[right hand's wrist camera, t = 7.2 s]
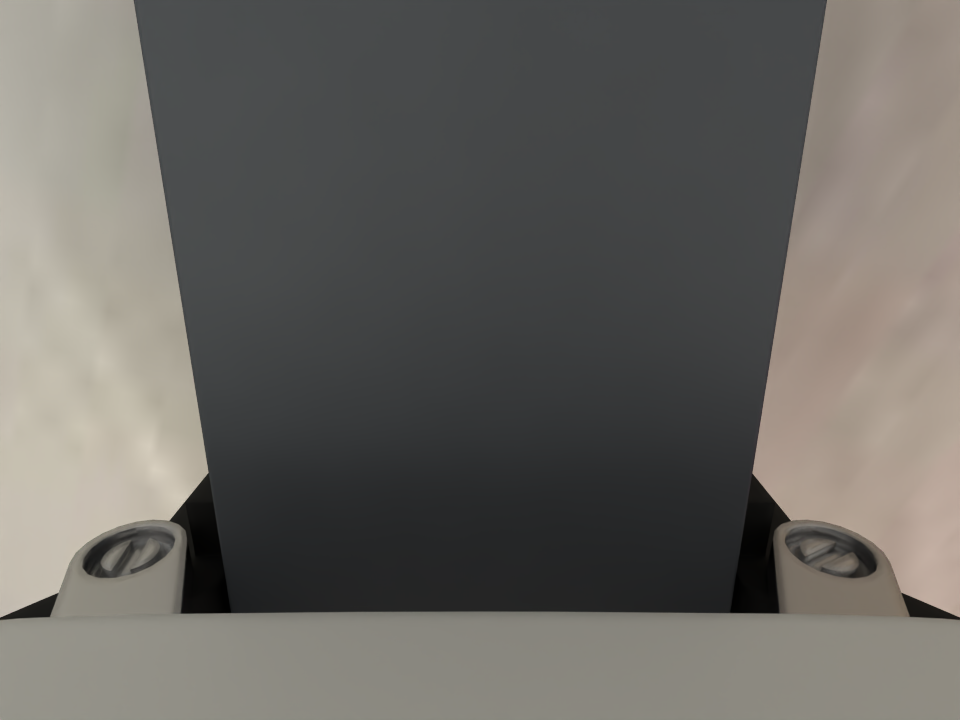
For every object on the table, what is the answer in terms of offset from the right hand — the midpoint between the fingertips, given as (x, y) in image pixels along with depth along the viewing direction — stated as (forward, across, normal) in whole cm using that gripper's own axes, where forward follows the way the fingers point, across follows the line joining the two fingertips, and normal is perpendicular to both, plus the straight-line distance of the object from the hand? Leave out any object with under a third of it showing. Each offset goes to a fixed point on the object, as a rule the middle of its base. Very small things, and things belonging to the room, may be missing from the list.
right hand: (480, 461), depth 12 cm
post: (+3, 0, -31) cm, 31 cm away
